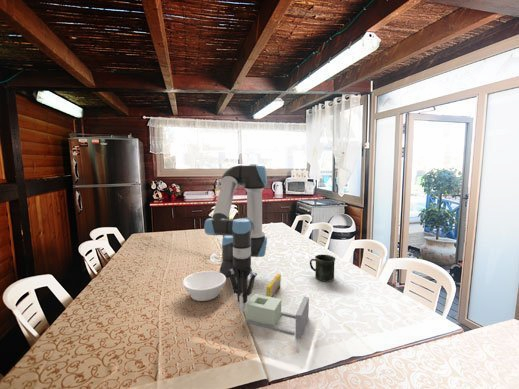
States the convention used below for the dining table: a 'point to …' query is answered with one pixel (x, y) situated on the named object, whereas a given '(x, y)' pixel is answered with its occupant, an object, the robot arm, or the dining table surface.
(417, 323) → the dining table surface
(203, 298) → the bowl
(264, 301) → the block
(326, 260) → the mug
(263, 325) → the board
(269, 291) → the candy box
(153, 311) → the dining table surface
